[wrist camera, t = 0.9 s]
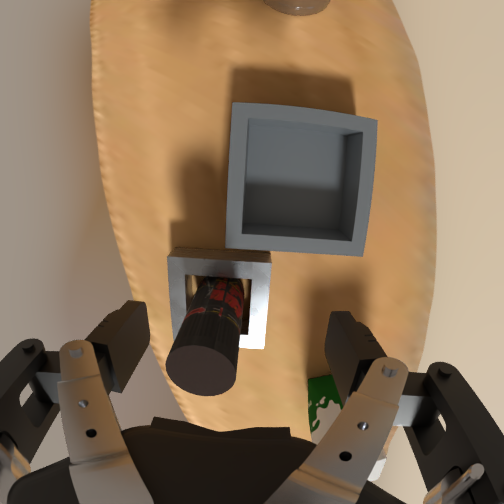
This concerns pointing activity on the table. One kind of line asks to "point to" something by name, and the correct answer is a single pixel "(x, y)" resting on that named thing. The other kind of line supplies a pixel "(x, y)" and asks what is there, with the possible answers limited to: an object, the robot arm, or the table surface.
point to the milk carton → (330, 414)
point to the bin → (299, 179)
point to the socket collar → (221, 265)
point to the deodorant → (209, 339)
